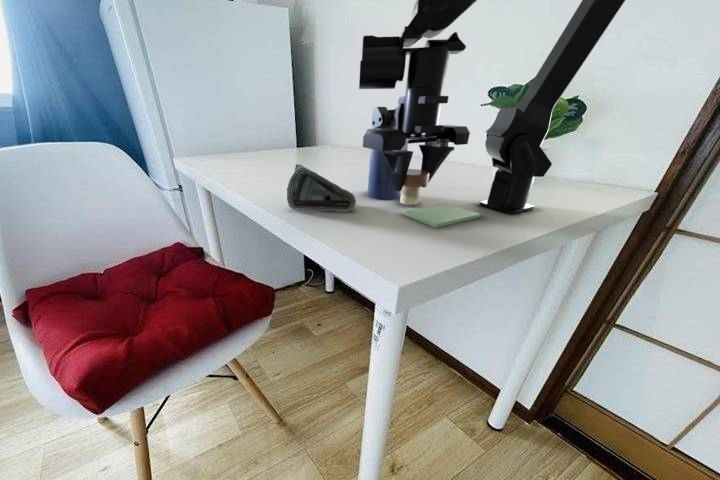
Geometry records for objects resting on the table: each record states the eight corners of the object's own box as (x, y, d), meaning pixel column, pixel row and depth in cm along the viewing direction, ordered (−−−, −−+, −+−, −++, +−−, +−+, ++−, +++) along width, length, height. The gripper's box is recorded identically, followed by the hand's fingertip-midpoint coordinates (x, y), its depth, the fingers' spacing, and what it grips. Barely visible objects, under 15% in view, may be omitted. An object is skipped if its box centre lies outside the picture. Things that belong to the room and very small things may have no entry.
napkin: (445, 206, 55) (446, 203, 55) (479, 217, 50) (480, 214, 49) (403, 214, 51) (403, 211, 51) (435, 228, 46) (436, 224, 45)
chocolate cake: (359, 202, 59) (317, 154, 58) (360, 202, 52) (312, 147, 51) (322, 235, 60) (281, 190, 60) (319, 239, 54) (272, 188, 53)
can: (385, 189, 66) (391, 134, 61) (406, 196, 61) (414, 137, 56) (360, 193, 63) (364, 135, 58) (380, 201, 58) (386, 139, 53)
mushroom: (409, 197, 60) (413, 167, 57) (431, 204, 55) (436, 173, 53) (386, 200, 57) (390, 170, 55) (407, 208, 53) (412, 176, 50)
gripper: (429, 91, 58) (417, 175, 65) (346, 89, 50) (343, 185, 57) (481, 89, 49) (460, 186, 57) (390, 86, 41) (380, 200, 49)
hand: (410, 188), depth 55 cm, fingers closed on mushroom, 5 cm apart
